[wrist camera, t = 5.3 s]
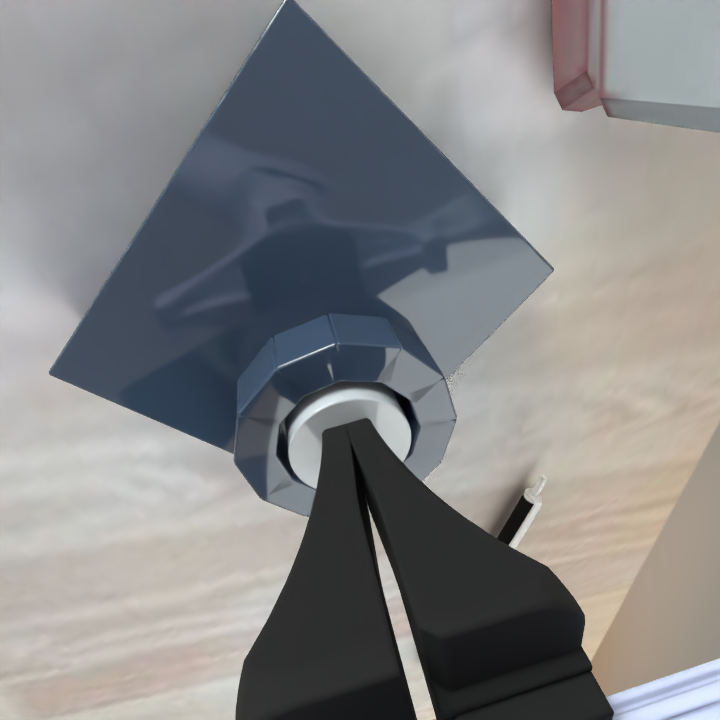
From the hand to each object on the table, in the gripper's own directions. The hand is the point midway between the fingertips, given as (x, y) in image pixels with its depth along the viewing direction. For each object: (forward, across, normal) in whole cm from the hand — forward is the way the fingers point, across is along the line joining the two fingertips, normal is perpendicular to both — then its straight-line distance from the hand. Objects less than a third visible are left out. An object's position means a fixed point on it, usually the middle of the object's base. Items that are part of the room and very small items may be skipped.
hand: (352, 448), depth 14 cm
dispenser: (+5, 0, -3) cm, 6 cm away
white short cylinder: (+2, 0, 0) cm, 2 cm away
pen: (+5, -5, +19) cm, 20 cm away
